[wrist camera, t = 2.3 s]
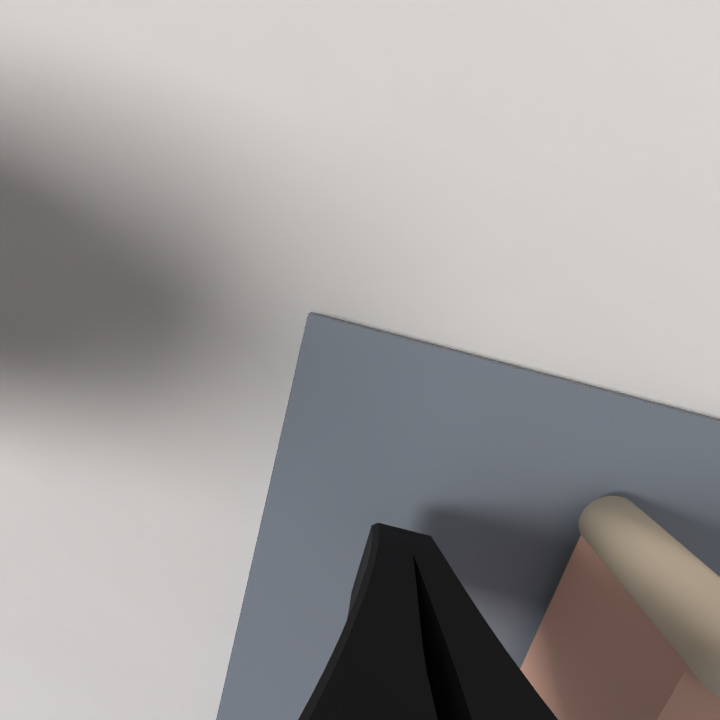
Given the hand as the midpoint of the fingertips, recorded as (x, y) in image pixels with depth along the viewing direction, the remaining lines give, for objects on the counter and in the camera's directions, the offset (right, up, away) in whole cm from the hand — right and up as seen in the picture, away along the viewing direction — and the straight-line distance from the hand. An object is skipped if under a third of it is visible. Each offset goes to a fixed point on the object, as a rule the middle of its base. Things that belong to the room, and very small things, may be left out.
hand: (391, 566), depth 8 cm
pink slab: (+4, -2, +1) cm, 5 cm away
